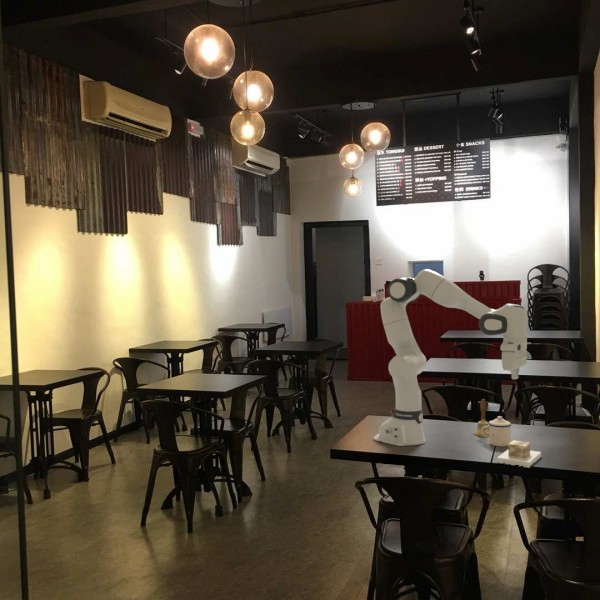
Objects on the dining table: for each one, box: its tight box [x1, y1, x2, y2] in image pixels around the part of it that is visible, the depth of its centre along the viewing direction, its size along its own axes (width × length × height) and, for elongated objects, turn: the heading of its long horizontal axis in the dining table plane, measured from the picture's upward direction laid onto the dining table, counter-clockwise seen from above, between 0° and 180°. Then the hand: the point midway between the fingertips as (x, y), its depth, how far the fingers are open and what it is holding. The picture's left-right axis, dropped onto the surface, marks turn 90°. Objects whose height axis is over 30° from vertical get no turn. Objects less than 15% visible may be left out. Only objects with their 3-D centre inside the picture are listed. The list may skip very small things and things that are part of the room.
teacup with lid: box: [482, 415, 512, 447], centre depth 265 cm, size 12×9×12 cm
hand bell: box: [473, 398, 489, 437], centre depth 281 cm, size 8×8×16 cm
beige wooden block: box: [507, 439, 531, 458], centre depth 242 cm, size 6×6×4 cm
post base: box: [496, 449, 542, 469], centre depth 242 cm, size 12×16×5 cm
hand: (514, 378), depth 250 cm, fingers closed
